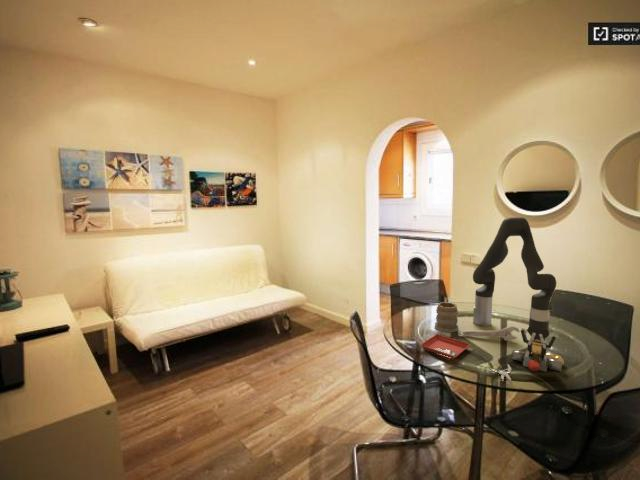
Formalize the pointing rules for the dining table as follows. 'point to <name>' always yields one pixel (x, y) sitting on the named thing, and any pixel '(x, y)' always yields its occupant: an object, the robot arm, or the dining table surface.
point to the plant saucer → (445, 345)
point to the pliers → (505, 373)
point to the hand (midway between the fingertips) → (536, 353)
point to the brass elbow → (555, 357)
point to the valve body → (536, 361)
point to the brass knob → (536, 349)
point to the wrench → (492, 333)
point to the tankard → (446, 317)
